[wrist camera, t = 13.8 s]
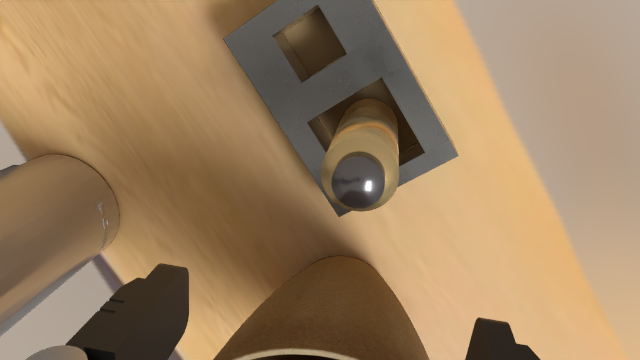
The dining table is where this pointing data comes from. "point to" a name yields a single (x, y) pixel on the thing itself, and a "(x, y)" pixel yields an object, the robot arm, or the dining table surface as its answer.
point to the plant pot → (328, 319)
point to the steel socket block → (336, 81)
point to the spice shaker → (363, 157)
